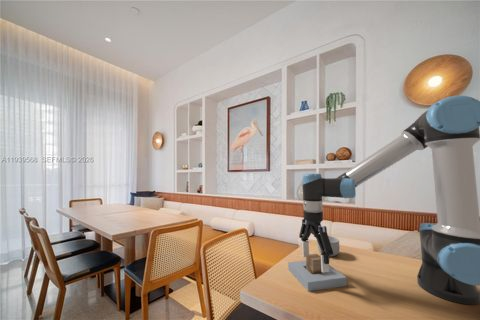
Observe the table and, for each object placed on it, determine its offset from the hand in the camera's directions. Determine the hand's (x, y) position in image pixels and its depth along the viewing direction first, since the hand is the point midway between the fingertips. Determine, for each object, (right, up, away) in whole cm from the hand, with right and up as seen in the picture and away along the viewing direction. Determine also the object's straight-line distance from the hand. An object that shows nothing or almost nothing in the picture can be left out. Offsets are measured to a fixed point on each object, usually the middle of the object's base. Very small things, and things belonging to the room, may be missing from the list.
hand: (314, 263), depth 78 cm
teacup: (+16, -7, +23) cm, 29 cm away
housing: (0, -5, 0) cm, 5 cm away
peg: (0, -5, 0) cm, 5 cm away
